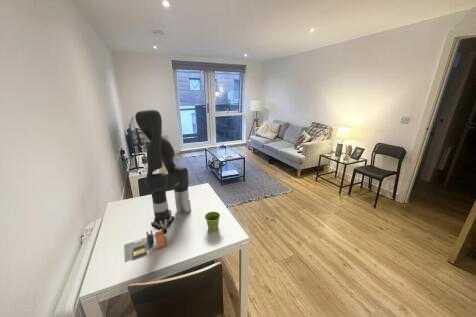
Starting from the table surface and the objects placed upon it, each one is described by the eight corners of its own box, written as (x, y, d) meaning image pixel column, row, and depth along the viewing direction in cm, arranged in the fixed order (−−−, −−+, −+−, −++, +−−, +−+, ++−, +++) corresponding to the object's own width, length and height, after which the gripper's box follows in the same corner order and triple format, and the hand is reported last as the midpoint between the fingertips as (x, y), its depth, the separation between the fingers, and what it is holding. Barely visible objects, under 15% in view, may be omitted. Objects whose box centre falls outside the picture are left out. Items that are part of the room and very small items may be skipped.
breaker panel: (163, 234, 117) (162, 230, 116) (167, 248, 107) (166, 244, 106) (124, 246, 108) (123, 243, 107) (125, 264, 97) (124, 260, 96)
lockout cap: (164, 240, 110) (162, 229, 108) (165, 245, 107) (163, 233, 104) (156, 243, 108) (154, 231, 106) (157, 248, 105) (155, 236, 103)
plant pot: (202, 230, 120) (201, 218, 117) (209, 221, 128) (209, 210, 125) (216, 234, 117) (215, 222, 114) (223, 224, 125) (222, 213, 122)
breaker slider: (153, 236, 113) (151, 229, 111) (154, 241, 110) (152, 233, 108) (147, 238, 111) (145, 231, 110) (148, 243, 108) (146, 235, 106)
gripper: (171, 201, 114) (175, 226, 120) (147, 207, 108) (151, 233, 114) (174, 207, 108) (177, 233, 114) (148, 215, 102) (153, 241, 108)
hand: (164, 233), depth 114 cm, fingers closed
